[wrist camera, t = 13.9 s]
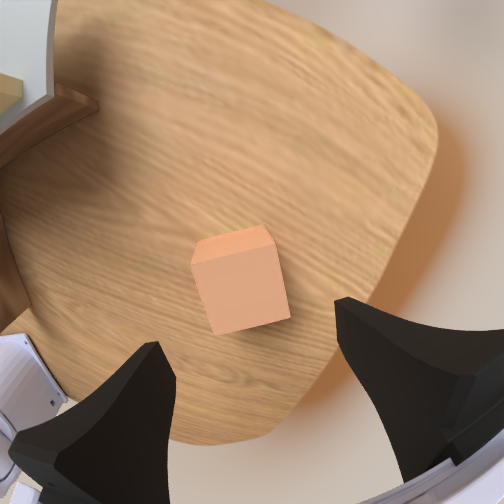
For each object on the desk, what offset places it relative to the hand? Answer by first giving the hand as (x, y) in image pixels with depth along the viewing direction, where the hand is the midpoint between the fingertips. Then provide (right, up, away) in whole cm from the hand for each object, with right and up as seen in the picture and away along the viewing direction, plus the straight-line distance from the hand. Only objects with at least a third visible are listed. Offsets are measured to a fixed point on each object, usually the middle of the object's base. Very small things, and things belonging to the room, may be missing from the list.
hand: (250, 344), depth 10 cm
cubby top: (-18, +16, -3) cm, 25 cm away
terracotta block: (-1, +3, +9) cm, 10 cm away
